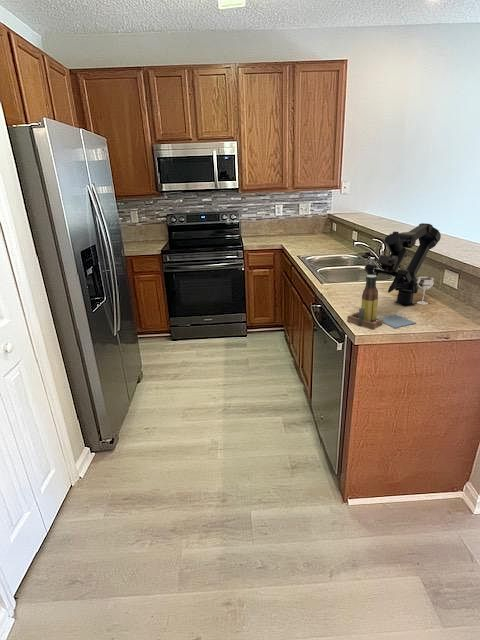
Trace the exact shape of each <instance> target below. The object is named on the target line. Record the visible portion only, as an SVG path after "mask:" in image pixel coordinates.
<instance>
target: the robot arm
mask: <svg viewBox="0 0 480 640" xmlns="http://www.w3.org/2000/svg"><path fill="white" fill-rule="evenodd" d="M441 236H442V235H441V232H440V230H438V229H437V228H436V227H434V226H433V224H431V223H423V222H422V223H418V225H417V226H416V227H414V228H413V229H411V230H409V231H408V232H407V231H406V232H404V231H403V232H400V233H399V231H395V230H394V231H393V232H392V233H390V234H388V235H386V236H385V237H384V243H385V245H386V248H387V250H388V252H389V255H381V254H380V255H379V256H378V259H377V264H379V267H380V268H378V267H377V265H376V264H371V263H367V264H366V265H365V266H364V270H365V272H366V274H367V275H376V276H377V277H378V275H379V274H380V275H381V274H382V275H386V276H389V277H394V278H393V281H392V282H391V284H390V286H389V287H388V290H387V293H391V292H392V291H394V290H395V291H398V293H397V295H396V296H397V298H396V300H395V301H394V303H395V304H397V305H400V306H402V307H409V306H413V305H415V304H416V303H415V302H413V301H414V294H418V291H419V289H420V287H419V286H418V284H417V281H418V279H417V274H418V272H419V270H420V269H421V266H422V264H423V263H424V261H425V259H426V257H427V255H428V253H429V252H430V250H432V249H433V248H435V247H436V246H437V245H438V243H439V242H440V240H441V238H442V237H441ZM417 240H418V241H419V245H418V246H417V249H416V251H415V253H414V254H413V256H412V258H411V260H410V261H409V263H408V266H406V269H402V268H401V267H402V265H401V263H402V262H403V261H404V258H406V257H407V256H408V254H407V253H408V252H407V249H412V248H413V247H414V246H415V245H416V244H417Z"/></svg>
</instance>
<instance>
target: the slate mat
mask: <svg viewBox="0 0 480 640" xmlns="http://www.w3.org/2000/svg"><path fill="white" fill-rule="evenodd" d="M379 319H383V324H384V325H387V326H389V327H390V328H393V329H399V328H404V327H408V326H412V325H416V324H417V322H415V321H413V320H411V319H408V318H406V317H403V316H401V315H399V314H397V313H395V314H390V315H385V316H381V317H377V318H376V321H377V320H379Z"/></svg>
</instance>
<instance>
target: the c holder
mask: <svg viewBox="0 0 480 640" xmlns="http://www.w3.org/2000/svg"><path fill="white" fill-rule="evenodd" d="M364 311H365V309H363V308H359V309H358V311H356V312H354V313H352V314H349V315H348V316H347V317H346V320H347V321H346V322H347V323H350V324H353V325H357V326H358V327H362V328H366V329H369V330H375V329H377V328H379V327H381V326H383V324H384V323H383V319H379V320H376V321H375V322H369V321H366V320H364Z"/></svg>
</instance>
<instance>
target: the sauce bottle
mask: <svg viewBox="0 0 480 640" xmlns="http://www.w3.org/2000/svg"><path fill="white" fill-rule="evenodd" d="M377 279H378V275H377V276H376V275H368V274H367V275H365V280H366V282H365V287H364V289H363V291H362V295H361V308H363V309H365V311H364V320H366V321H369V322H375V321H377V320H376V318H378V317H377V315H378V303H379V302H378V300H379V291H378V289H377Z"/></svg>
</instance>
